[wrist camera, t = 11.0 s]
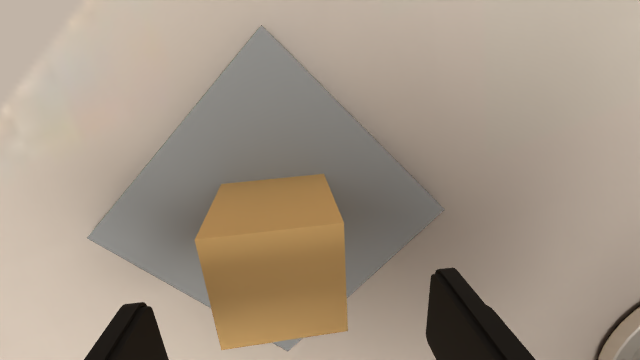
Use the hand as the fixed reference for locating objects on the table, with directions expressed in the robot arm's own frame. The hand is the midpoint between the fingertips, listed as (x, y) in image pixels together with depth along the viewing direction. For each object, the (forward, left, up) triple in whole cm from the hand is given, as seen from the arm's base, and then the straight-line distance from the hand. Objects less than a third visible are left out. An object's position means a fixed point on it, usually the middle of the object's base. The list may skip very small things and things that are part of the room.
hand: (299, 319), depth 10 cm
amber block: (+1, 0, -6) cm, 6 cm away
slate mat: (+1, 0, -7) cm, 7 cm away
